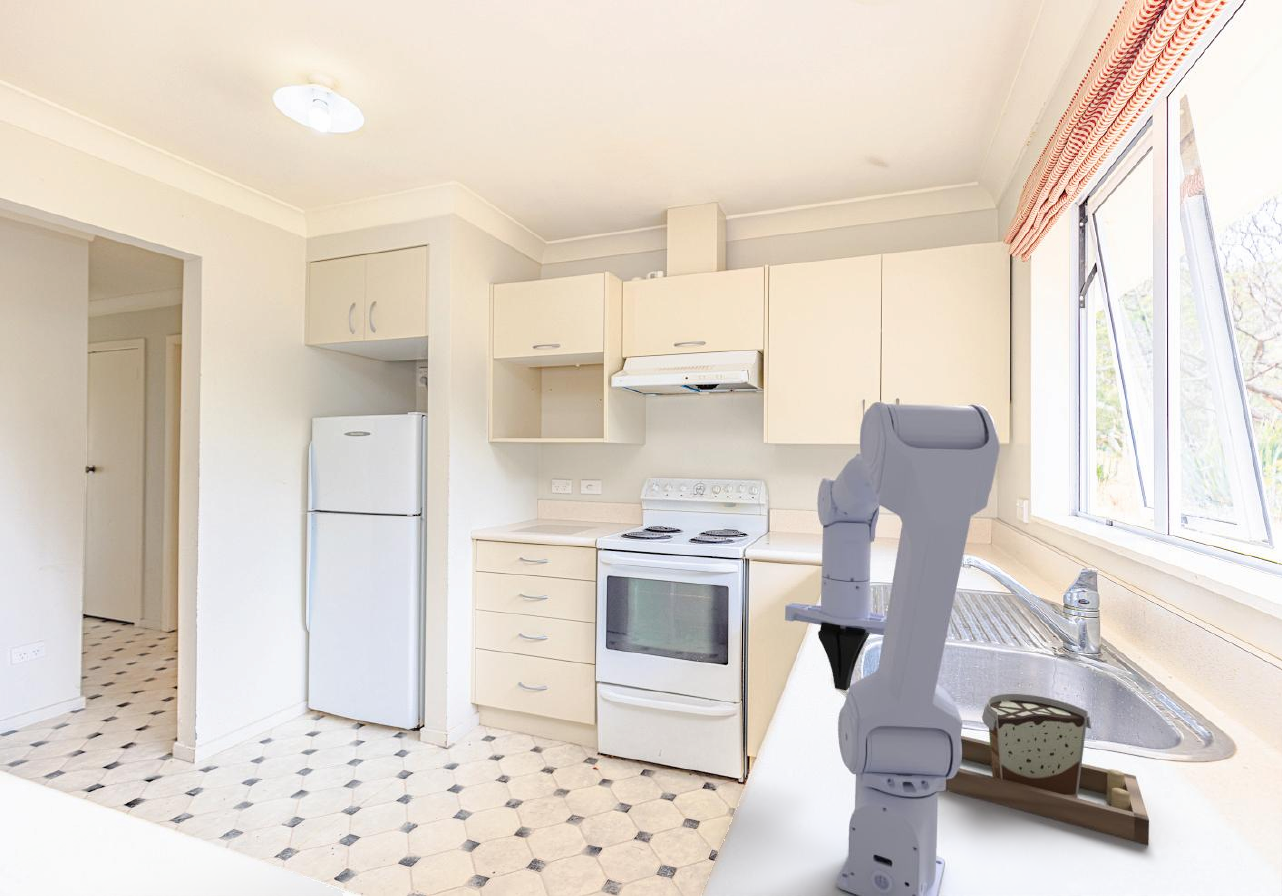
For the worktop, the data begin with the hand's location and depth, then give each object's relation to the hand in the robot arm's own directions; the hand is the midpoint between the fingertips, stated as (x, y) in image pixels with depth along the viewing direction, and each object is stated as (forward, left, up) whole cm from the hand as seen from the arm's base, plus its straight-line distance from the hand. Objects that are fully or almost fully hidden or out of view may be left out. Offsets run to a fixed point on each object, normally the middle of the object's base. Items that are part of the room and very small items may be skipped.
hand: (842, 687), depth 80 cm
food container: (+10, -19, -11) cm, 24 cm away
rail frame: (+8, -20, -10) cm, 24 cm away
